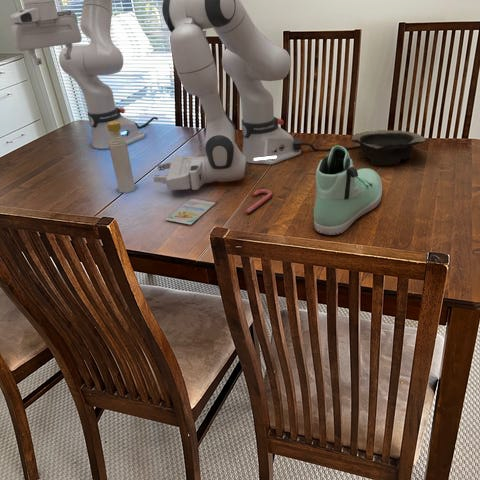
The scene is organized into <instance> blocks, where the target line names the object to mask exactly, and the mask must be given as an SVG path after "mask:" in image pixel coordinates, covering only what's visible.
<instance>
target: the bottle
mask: <svg viewBox="0 0 480 480" xmlns="http://www.w3.org/2000/svg"><path fill="white" fill-rule="evenodd" d="M109 152H110V153H109V154H110V157H111V162H112V166H113V171H114V174H115V175H114V176H115V179H116V184H117V188H118V189H117V190H118V192H119V193H122V194H128V193H132V192H134V191H135V190H136V183H135V179H134V172H133V168H132V165H131V158H130V153H129V149H128V145H127V143H126V141H125V139H124V137H123V136H122V135H121V133H119V131H116V132H111V136H110V139H109Z"/></svg>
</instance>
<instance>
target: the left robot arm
mask: <svg viewBox="0 0 480 480" xmlns="http://www.w3.org/2000/svg"><path fill="white" fill-rule="evenodd" d="M22 4H23V6H24V7H23V9H21V10H19V11H17V12H14V13H12V14H11V15H10V16H9V17H10V21H11V22H12V23H13V24H12V25H11V29H10V30H11V32H10V33H11V37H12V39H11V40H12V43H13V47H14V48H15V49H16V50H17V51H19V52H24V51H27V52H28V54H29V55H30V56H31V57H32V58H33V60H34V63H35V65H36V66H40V65H42V64H43V62H42V59H41V58H40V57H38V56H37V55H36V50H38V49H45V48H52V47H58V46H59V47H60V46H65V47H64V48H62V49H61V51H60V52H59V55H58V63H59V65H60V68H61V69H62V71H63V72H64V73H65V74H67V75H68V76H69V77H71V78H72V79H73V80H74V82H76V84H77V85H78V87H79V89H80V90H81V92H82V95H83V98H84V101H85V104H86V109H87V118H88V122H89V125H90V127H91V128H90V129H91V137H92V138H91V140H92V141H91V147H92V148H94V149H98V150H107V149H109V150H110V148H109V139H110V136H111V132H110V131H108V126H107V123H108V122H111V121H119V123H120V127H121V129H120V130H119V133H121V135H122V136H123V137H124V139H125V141H126V143H127V146H128V145H131V144H132V143H135V142H137V141H139V140H141V139H143V138H145V137H146V135H145V133H144V132H142V131H140V130H139V129H142V128H145V127H146V126H148V125H149V124H151V122H152V121H154V120H156V121H158V120H159V117H156V116H153V117H152V118H150V119H149V120H148V121H146V123H143V124H142V125H138V123H137V122H135V121H134V120H131V119H129V118H127V117H125V116H123V115H122V114H125V112H126V109H125V108H124V107H123V108H122V107H117V106H116V103H115V97H114V94H113V90H112V87H110V86H109V85H108V84H106V83H104V82H103V81H102V80H101V79H100V78H99V77H98V76H110V75H115V74H118V73H120V72H121V71H122V70H123V67H124V56H123V54H122V53H123V52H122V51H121V50H120V48H119V47H117V46H116V45H115V44H114V43H113V39H112V37H111V26H112V17H113V0H83V2H82V7H81V17H80V24H79V23H78V15H77V14H76V13H75V12H74V11H72V10H65V11H58V9H57V4H56V0H23V2H22ZM78 24H79V25H78ZM79 26H80V27H79ZM81 32H82V33H83V35H84V36H85V37H87V38H88V39H90V43H89V44H86V45H83V44H82V45H80V44H79V43H81V42H82V39H83V37H82V34H81ZM73 44H79V45H73Z"/></svg>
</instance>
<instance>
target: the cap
mask: <svg viewBox="0 0 480 480" xmlns="http://www.w3.org/2000/svg"><path fill="white" fill-rule="evenodd" d="M107 126H108V131H110V132H116V131H119V130H120V129H121V127H120V123H119V121H111V122H108V123H107Z"/></svg>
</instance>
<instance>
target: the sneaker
mask: <svg viewBox="0 0 480 480" xmlns="http://www.w3.org/2000/svg"><path fill="white" fill-rule="evenodd" d="M331 148H332V149H331ZM331 148H330V149H331V151H329V154H327V155H326V156H325V157H324V158H322V159H321V160H320V161H319V163H318V164H317V165H318V166H317V168H316V172H315V201H314V207H313V225H314V229H315V231H316V232H318V233H320V234H323V235H326V236H327V235H328V236H336V235H339V234H342V233H344V232H345V231H347V230H348V229H349V228H350V227H351V226H352V225H353V224H354V222H356V221H357V220H358V219H359V218H360V217H362V216H363V215H365V214H367V213H370V212H372V210H374V209H375V208H377V207H378V205H380V203H381V200H382V196H383V184H382V183H383V182H382V179H381V176H380V175H379V173H378V172H377V171H376V170H374V169H372V168H367V167H365V168H358V169H357V168H355V167H354V161H353V159H352V158H351V156H350V153H349V152H348V149H347V150H346V149H345V147H344V146H342V145H334V146H333V147H331ZM343 230H344V231H343ZM319 231H320V232H319ZM322 232H323V233H322ZM339 232H340V233H339ZM326 233H327V234H326ZM328 233H329V234H328ZM335 233H337V234H335Z"/></svg>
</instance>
